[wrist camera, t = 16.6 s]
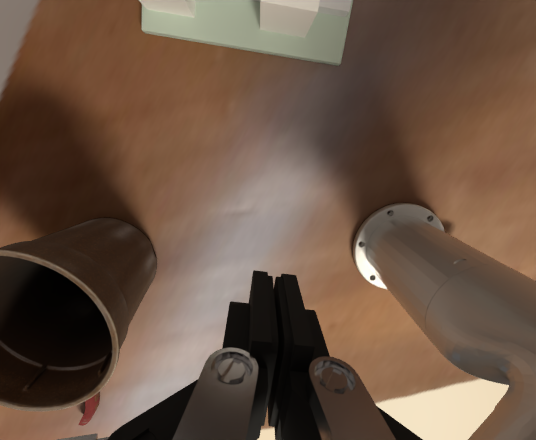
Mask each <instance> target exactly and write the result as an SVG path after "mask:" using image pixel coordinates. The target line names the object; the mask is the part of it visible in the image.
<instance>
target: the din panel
mask: <svg viewBox="0 0 536 440" xmlns="http://www.w3.org/2000/svg"><path fill="white" fill-rule="evenodd" d="M139 1H140V2H141V3H142V31H143V32H144V33H147V34H153V35H159V36H165V37H171V38H177V39H183V40H189V41H194V42H200V43H206V44H212V45H218V46H224V47H230V48H236V49H241V50H247V51H253V52H259V53H265V54H271V55H277V56H283V57H288V58H294V59H300V60H306V61H312V62H318V63H324V64H330V65H336V66H339V65H340V64H341V60H342V55H343V49H344V44H345V39H346V34H347V29H348V24H349V19H350V13H351V8H352V3H353V0H320V2H319V8H318V13H317V15H316V17H315V19H314V21H313V23H312V25H311V27H310V29H309V31H308V33H307V35H306V37H305V38H303V37H298V36H292V35H287V34H281V33H276V32H270V31H264V30H260V0H139Z"/></svg>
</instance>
